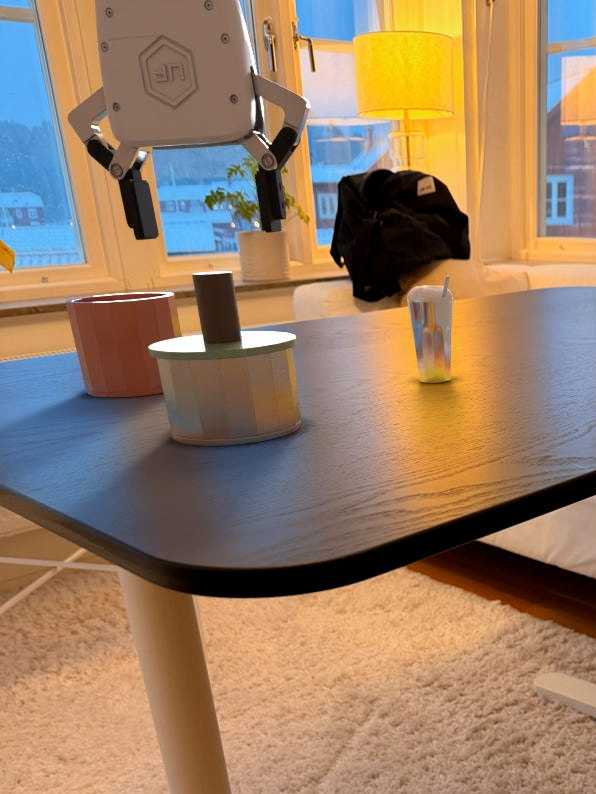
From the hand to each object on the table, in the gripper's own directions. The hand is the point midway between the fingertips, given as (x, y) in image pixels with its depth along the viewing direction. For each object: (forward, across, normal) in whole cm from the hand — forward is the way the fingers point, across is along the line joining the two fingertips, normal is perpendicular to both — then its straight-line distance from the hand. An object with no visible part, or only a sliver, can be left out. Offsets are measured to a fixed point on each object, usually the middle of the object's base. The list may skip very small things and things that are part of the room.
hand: (210, 235), depth 67 cm
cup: (+14, -18, +22) cm, 32 cm away
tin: (+15, 0, 0) cm, 15 cm away
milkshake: (+15, +14, +20) cm, 29 cm away
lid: (+8, 0, 0) cm, 8 cm away
